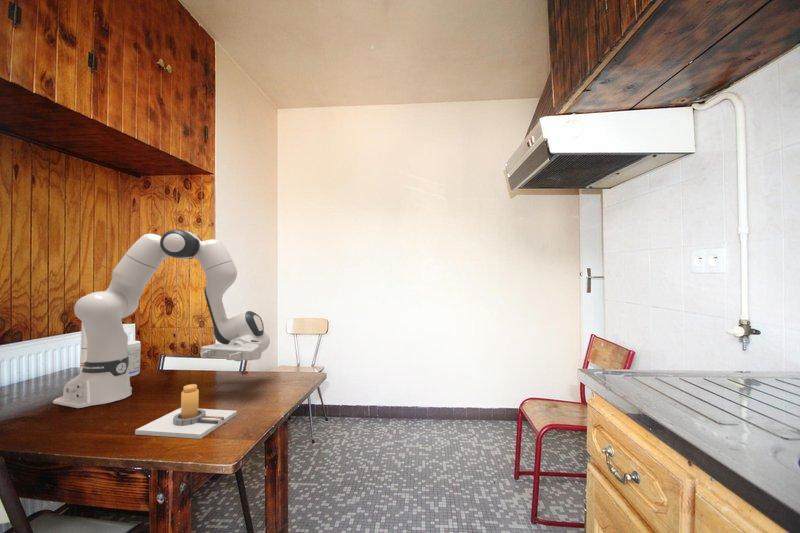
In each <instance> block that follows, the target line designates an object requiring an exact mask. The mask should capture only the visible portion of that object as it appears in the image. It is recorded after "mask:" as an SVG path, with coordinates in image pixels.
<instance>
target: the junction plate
mask: <svg viewBox="0 0 800 533" xmlns="http://www.w3.org/2000/svg"><path fill="white" fill-rule="evenodd" d="M237 415H238V410H231V409H230V410H229V409H210V408H198V416H196V417H193V418H189V419H181V407H179V408H177V409H175V410H173V411H171V412H169V413H166V414H165V415H163V416H161V417H159V418H157V419H154V420H152V421H150V422H149V423H146V424H145V425H142V426H141V427H139V428H136V429H135V430H134V435H139V436H153V437H155V436H156V437H165V438H166V437H167V438H168V437H169V438H180V439H181V438H183V439H197V440H198V439H199V440H202V438H204V437H205V436H207V435H208V434H210V433H211V432H212V431H215V430H216V429H218V428H219V427H221V426H222V425H224V424H225V423H227V422H229V421H230V420H231V419H232V418H234V417H236V416H237Z"/></svg>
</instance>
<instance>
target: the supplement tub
mask: <svg viewBox="0 0 800 533" xmlns="http://www.w3.org/2000/svg"><path fill="white" fill-rule="evenodd" d="M141 347H142V346H141V341H139V340H128V351H127V356H128V357H129V366H128V368H127V369H128V370H129V378H131V377H134V376H137V375H138V374H140V373H141V351H142V350H141V349H142V348H141Z"/></svg>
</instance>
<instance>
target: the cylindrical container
mask: <svg viewBox="0 0 800 533" xmlns="http://www.w3.org/2000/svg"><path fill="white" fill-rule="evenodd" d="M80 332H81V335H80V358H79V359H80V362H79V374H80V373H81V372H82V369H83V366H81V365H84V364H80V363H84V362H86V361H87V336H86V332H85V329H84V326H83V323H82V322H81V331H80ZM80 366H81V367H80Z"/></svg>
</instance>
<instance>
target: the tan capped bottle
mask: <svg viewBox="0 0 800 533" xmlns="http://www.w3.org/2000/svg"><path fill="white" fill-rule="evenodd" d="M199 389H200V388H199ZM199 389H198V385H197V384H196V383H191V384H186V385H184V386H183V390H182V391H181V392H180V393H181V394H180V395H181V397H180V408H181V419H189V418H193V417H196V416H198V409H199V397H200V396H199V395H200V394H199V393H200V391H199Z"/></svg>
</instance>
